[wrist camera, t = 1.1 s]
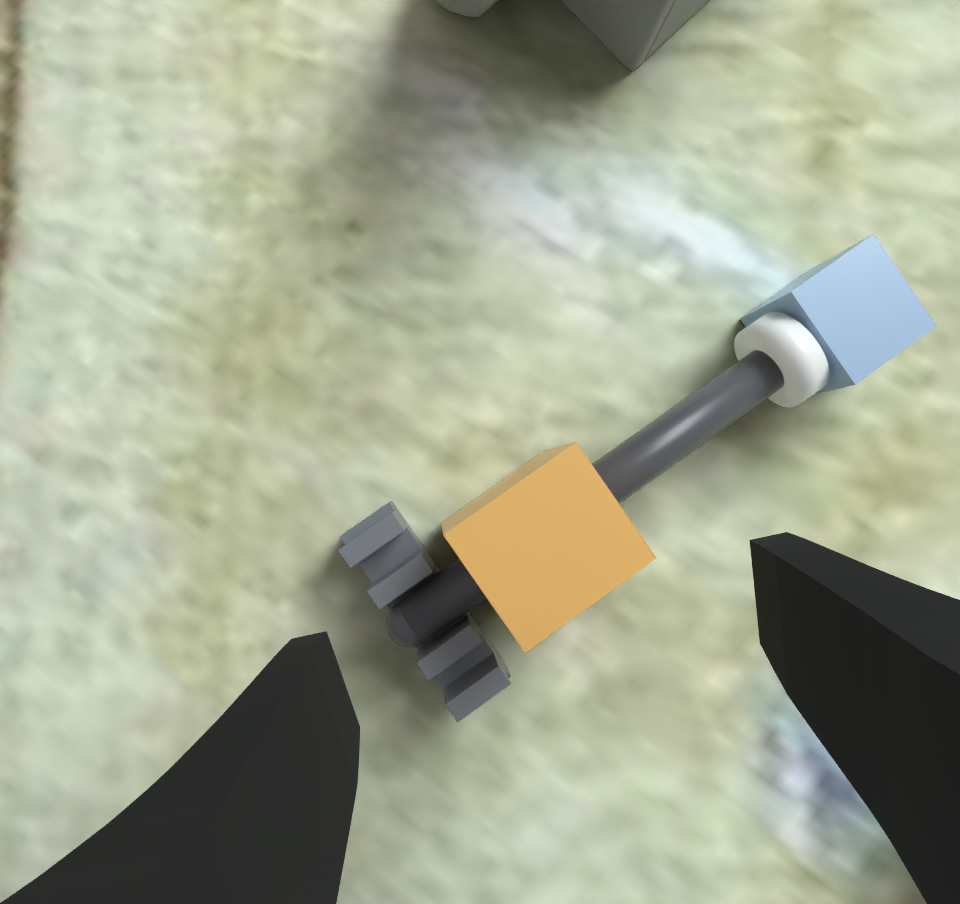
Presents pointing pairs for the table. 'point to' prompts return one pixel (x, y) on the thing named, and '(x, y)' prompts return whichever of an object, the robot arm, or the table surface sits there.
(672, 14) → the digital clock
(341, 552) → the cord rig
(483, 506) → the sleeve
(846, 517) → the table surface
